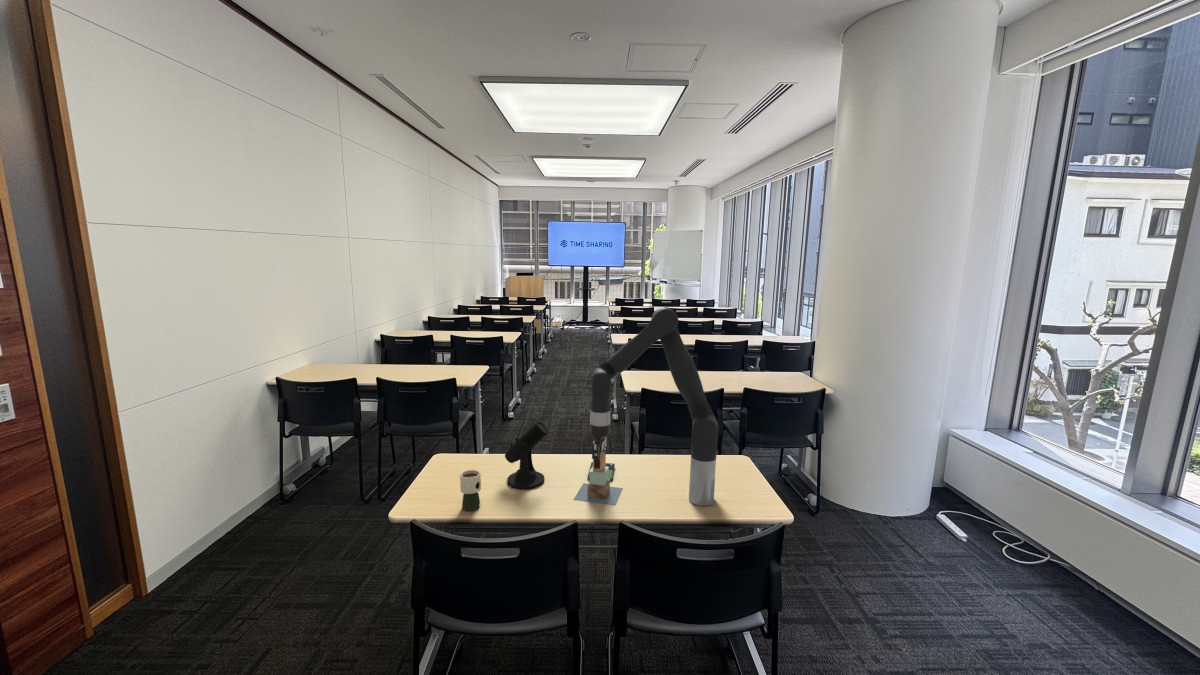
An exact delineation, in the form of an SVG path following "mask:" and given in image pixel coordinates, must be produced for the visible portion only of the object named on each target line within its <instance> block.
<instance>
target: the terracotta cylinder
mask: <svg viewBox="0 0 1200 675" xmlns="http://www.w3.org/2000/svg"><path fill="white" fill-rule="evenodd" d="M604 452H605V451H604ZM604 452H602V453H601V458H600V468H599V469H595V468H594V459H592V462H593V470H594V471H596V472H602V471H605V465H606V463H607V461H606V459H607V458H606V452H605V453H604ZM596 456H597V454H596Z"/></svg>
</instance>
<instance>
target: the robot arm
mask: <svg viewBox="0 0 1200 675" xmlns="http://www.w3.org/2000/svg"><path fill="white" fill-rule="evenodd" d="M678 324H679V316H678V314H677V312H676V311H675V310H674V309H672V308H669V307H661V308H660V307H659V308H658V309H655V311H654V312H653V313H652V315H651V320H650V321H649V322H648V323H647V324H646V325H645V327H644V328H643V329H642V330H641V331H640V332H638V333H637V334H636V335H635V336H634V337H633V338H631V339H630V340H629V341H627V342H626V343H624V345H622V346H621V347H620V348H619V349H618V350H617V351H615V353H613V354H612V355H611V356H610V357H609V358H608V359H607V360H605V361H603V362H602V363H601V364H599V365H598V366H597V367H595V369H594V370H593V371H592V372H591V375H590V380H591V397H590V398H591V399H590V415H589V434H590V435H591V436H592V437H594V439H593V442H592V444H591V459H592V460H593V459H594V468H595V469H599V468H600V458H601V453H602V452H604V453H606V448H607V444H608V442H607V441H608V437H609V435H611V411H610V410H611V407H610V406H611V398H610V397H611V391H612V390H611V388H612V379H613V378H614V377H616V375H618V374H620V373H623V372H624V371H626V369H628V368H629V367H630V366H631V365H632V364H633V363H634V362H635V361H636V360H637V359H638V358H640V356H641V355H643V353H645V351H646V350H648V349H649V348H650V347H651V346H653V345H654V344H655V343H657V342H658V341H660V343H661V345H662V347H663V348H662V349H663V350H664V355H665V358H666V361H667V365H668V368H669V371H670V374H671V377H672V378H673V381H674V384H675V386H676V389H677V390H678V392H679V393H680V395H681V396H682V398H683V399H684V401H685V403H686V405H687V408H688V411H689V414H690V418H691V421H692V422H691V423H692V426H691V442H690V467H689V468H690V470H689V485H688V486H689V487H688V500H689V502H690V503H691V504H693V505H696V506H700V507H708V506H714V503H715V486H716V470H717V469H716V464H717V453H718V439H719V437H718V436H719V425H718V424H719V423H718V419H717V418H716V416H715V414H714V413H713V411H712V408H711V406H710V405H709V402H708V400H707V397H706V395H705V390H704V387H703V384H702V380H701V377H700V374H699V372H698V368H697V366H696V364H695V361H694V359H693V357H692V355H691V354H690V352H689V350H688V349H687V347H686V346H685V344H684V342H683V340H682V337H681V334H680V331H679V328H678ZM596 454H597V456H596Z"/></svg>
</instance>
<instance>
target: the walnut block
mask: <svg viewBox="0 0 1200 675" xmlns="http://www.w3.org/2000/svg"><path fill="white" fill-rule="evenodd" d="M587 484H588V495H587V497H592V498H599V499H606V498H607V496H608V493H609V491H610V487H611V482H610V479H609V478H608V481H607V483H606V485H605V486H601V485H593V484H589V482H588V483H587Z"/></svg>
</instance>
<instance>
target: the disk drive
mask: <svg viewBox="0 0 1200 675" xmlns="http://www.w3.org/2000/svg"><path fill="white" fill-rule="evenodd" d="M605 466H607V467H609V476H608V478H609V479H610V483H611V482H613V481H614V473H615V468H616V467H615V463H611V462H610V463H608V462H606V465H605ZM592 467H593V461H592V462H591V463H590V466H589V470H588V472H589V471H590V470H591V468H592ZM587 481H589V473H588V474H587Z"/></svg>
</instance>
